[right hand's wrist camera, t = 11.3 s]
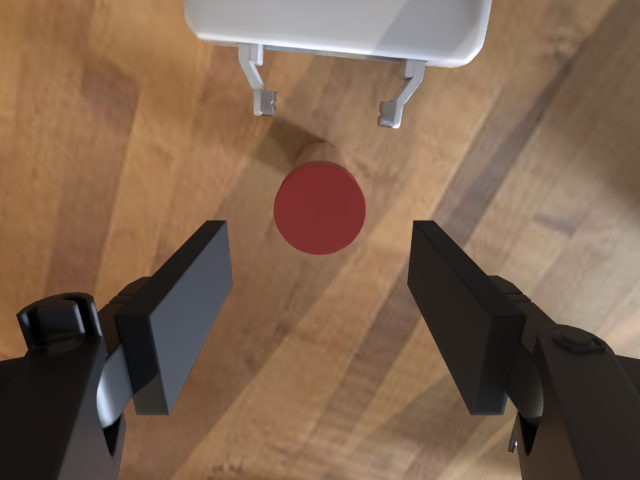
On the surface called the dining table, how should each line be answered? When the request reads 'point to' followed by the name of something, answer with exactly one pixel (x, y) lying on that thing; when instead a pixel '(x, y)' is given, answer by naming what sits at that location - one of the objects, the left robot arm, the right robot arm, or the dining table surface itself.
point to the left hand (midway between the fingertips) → (326, 121)
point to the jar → (319, 154)
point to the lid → (320, 208)
